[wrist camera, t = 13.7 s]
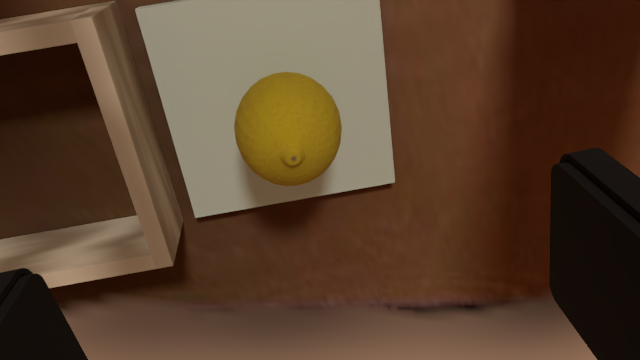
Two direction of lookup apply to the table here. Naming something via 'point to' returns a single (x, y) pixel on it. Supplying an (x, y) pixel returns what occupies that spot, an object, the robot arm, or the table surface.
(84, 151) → the table surface
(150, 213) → the brown wooden tray
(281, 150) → the lemon
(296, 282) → the table surface
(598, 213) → the robot arm
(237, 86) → the board
